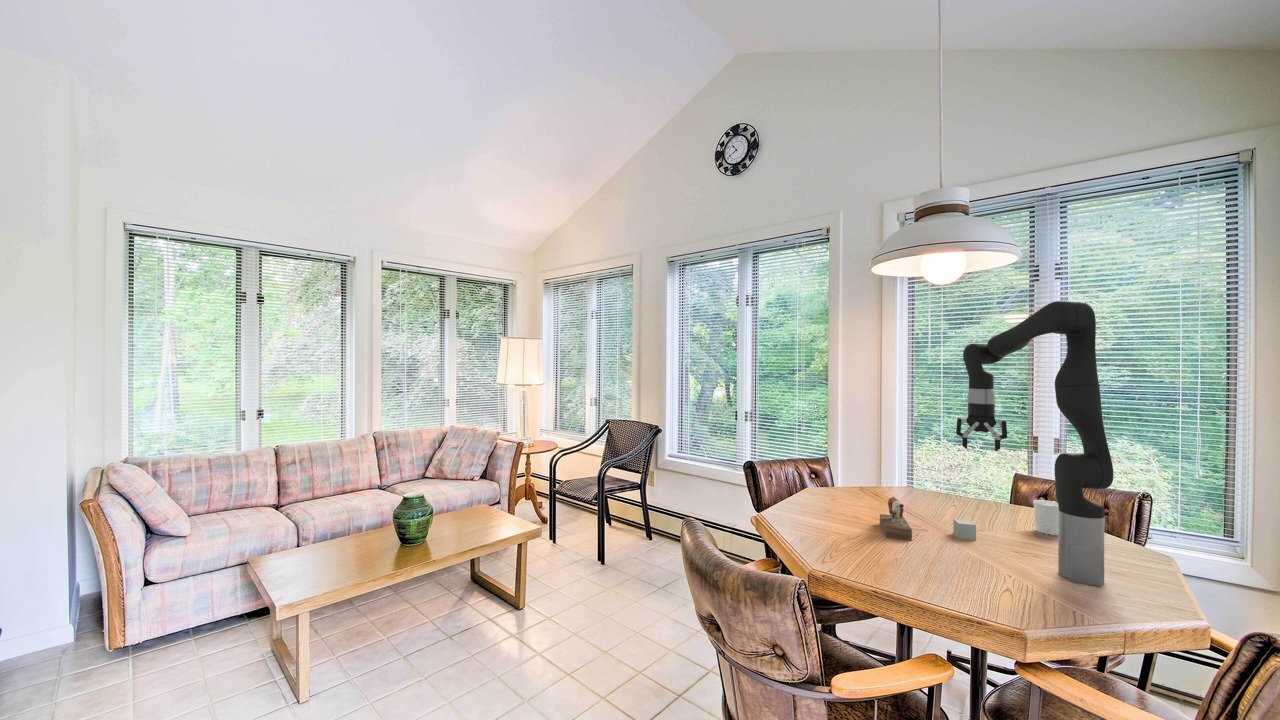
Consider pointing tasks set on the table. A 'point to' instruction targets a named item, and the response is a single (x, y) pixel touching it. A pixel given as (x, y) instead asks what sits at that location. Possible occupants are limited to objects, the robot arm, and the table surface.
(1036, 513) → the light grey block
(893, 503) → the bull figurine
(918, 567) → the table surface
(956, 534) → the sage cube
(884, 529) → the pedestal
